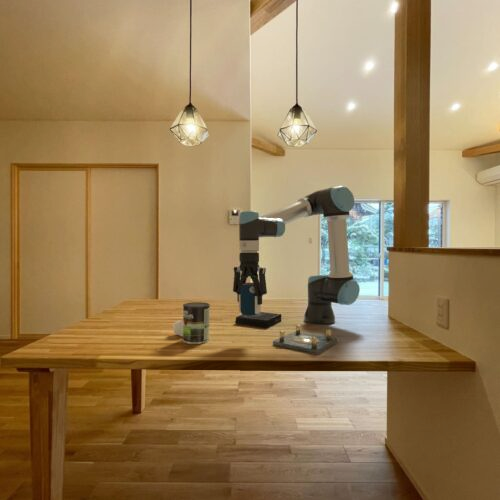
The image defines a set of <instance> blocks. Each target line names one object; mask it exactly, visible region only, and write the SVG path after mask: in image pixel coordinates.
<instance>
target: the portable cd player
mask: <svg viewBox="0 0 500 500" xmlns="http://www.w3.org/2000/svg"><path fill="white" fill-rule="evenodd" d="M281 322H282V314H281V313H273V312H272V313H271V312H263V311H261V313H258V314H257V315H256V316H243V315H242V314H241V315H237V316H236V317H235V321H234V323H235V325H241V326H246V327H253V328H262V329H269V328H271V327H273V326H275V325H277V324H279V323H281Z"/></svg>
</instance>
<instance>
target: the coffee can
mask: <svg viewBox="0 0 500 500" xmlns="http://www.w3.org/2000/svg"><path fill="white" fill-rule="evenodd" d="M182 307H183V311H182V312H183V314H182V315H183V319H182V320H183V336H182V342H183V344H184V343H185V344H189V345H201V344H205V343H208V342H210V307H211V304H210V303H207V302H201V301H200V302H195V301H193V302H186V303H184V304H182Z"/></svg>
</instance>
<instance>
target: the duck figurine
mask: <svg viewBox="0 0 500 500" xmlns="http://www.w3.org/2000/svg"><path fill="white" fill-rule="evenodd" d="M181 314H182V315H183V311H181ZM172 328H173V333H174V334H175V335H177V336H180V337H183V319H181V320H178V321H175V322H174V323H173V326H172Z"/></svg>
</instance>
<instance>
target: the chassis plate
mask: <svg viewBox="0 0 500 500" xmlns="http://www.w3.org/2000/svg"><path fill="white" fill-rule="evenodd" d="M301 326H302V325H301V324H295V331H293V332H291V333H288V334H286V335H285V330H279V338H277V339H274V340H272V346H274V347H275V346H276V347H280V348H285V349H289V350H294V351H298V352H303V353H307V354H312V355H313V354H314V355H319V354H321V353H323V352H324V351H326V350H327V349H329V348H330V347H333V346H335V345H336V344H337V343H338V338H336V337H332V329H330V328H328V329H327V328H326V329H325V335H320V334H319V335H318V334H314V333H313V334H312V333H308V332H302V331H301Z"/></svg>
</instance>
